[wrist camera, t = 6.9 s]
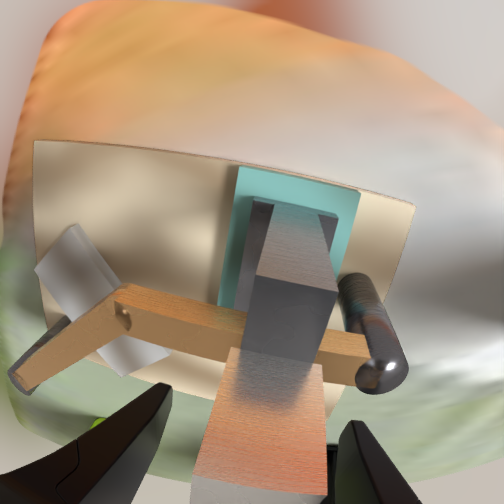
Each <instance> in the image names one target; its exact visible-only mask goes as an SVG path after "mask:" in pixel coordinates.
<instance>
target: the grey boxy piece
mask: <svg viewBox="0 0 504 504" xmlns="http://www.w3.org/2000/svg"><path fill="white" fill-rule="evenodd" d="M338 220H339V218H338V216H337V214H336V213H332V212H327V211H323V210H319V209H314V208H310V207H305V206H301V205H296V204H292V203H287V202H282V201H278V200H273V199H268V198H263V197H258V196H255V198H254V199H253V203H252V209H251V214H250V220H249V225H248V230H247V236H246V241H245V247H244V252H243V258H242V263H241V269H240V274H239V280H238V286H237V291H236V297H235V302H234V308H233V309H235V310H239V311H244V312H248V314H247V319H246V324H245V328H244V333H243V338H242V343H241V348H240V349H238V348H234V347H231V349H230V352H229V355H228V359H227V362H226V365H225V369H224V372H223V375H222V378H221V382H220V385H219V388H218V392H217V395H216V398H215V402H214V405H213V408H212V411H211V415H210V418H209V421H208V424H207V428H206V431H205V434H204V438H203V441H202V444H201V447H200V451H199V454H198V457H197V460H196V464H195V467H194V470H193V473H192V482H191V495H190V504H319V503H320V502H321V501H322V500H323V499H324V498H325V497H326V496H327V451H326V425H325V405H324V389H323V374H322V365H320V364H314V363H313V362H314V360H315V357H316V354H317V352H318V349H319V347H320V344H321V341H322V338H323V336H324V333H325V330H326V328H327V325H328V322H329V319H330V316H331V313H332V311H333V308H334V305H335V302H336V299H337V296H338V293H339V291H338V287H337V283H336V279H335V275H334V271H333V267H332V263H331V260H330V256H329V253H330V250H331V246H332V242H333V239H334V235H335V231H336V228H337V224H338Z"/></svg>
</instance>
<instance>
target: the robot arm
mask: <svg viewBox="0 0 504 504" xmlns="http://www.w3.org/2000/svg"><path fill="white" fill-rule="evenodd" d="M172 392H173V388H172V386H171V385H169V384H166V383H162V382H159V383H157V384H155V385H154V386H153V387H151V388H150V389H148V390H147V391H145V392H144V393H143V394H141V395H140V396H138V397H137V398H136V399H134V400H133V401H131V402H130V403H128V404H127V405H125V406H124V407H123V408H121V409H120V410H118V411H117V412H115V413H114V414H112V415H111V416H109V417H108V418H106V419H105V420H104V421H102V422H101V423H99V424H98V425H96V426H95V427H93V428H92V429H90V430H89V431H87V432H86V433H84V434H83V435H81V436H79V437H78V438H77V440H76V439H75V440H73V441H72V442H70V443H68V444H67V445H65V446H64V447H62V448H60V449H59V450H57V451H55V452H54V453H51V454H50V455H47V456H45V457H43V458H41V459H39V460H37V461H35V462H32V463H30V464H28V465H26V466H23V467H21V468H18V469H16V470H13V471H11V472H9V473H5V474H1V475H0V504H131V502H132V500H133V498H134V496H135V494H136V492H137V490H138V488H139V486H140V484H141V482H142V480H143V478H144V476H145V474H146V472H147V470H148V468H149V466H150V464H151V462H152V460H153V458H154V456H155V453H156V451H157V449H158V446H159V444H160V441H161V438H162V435H163V431H164V428H165V425H166V422H167V419H168V416H169V413H170V410H171V407H172ZM326 451H327V496H326V497H325V498H324V499H323V500H322V501H321V502H320V503H319V504H422V503H421V501H420V500H418V497H417V496H416V494H415V493H414V492H413V490H412V489H411V487H410V486H409V485H408V483H407V482H406V480H405V479H404V478H403V476H402V475H401V473H400V472H399V471H398V469H397V468H396V466H395V465H394V464H393V462H392V461H391V459H390V458H389V457H388V455H387V454H386V452H385V451H384V450H383V448H382V447H381V445H380V444H379V443H378V441H377V440H376V438H375V437H374V436H373V434H372V433H371V431H370V430H369V429H368V427H367V426H366V424H365V423H364V422H363V421H358V420H351V421H349V422H348V424H347V426H346V427H345V429H344V430H343V432H342V433H341V435H340V438H339V444H338V447H327V446H326Z"/></svg>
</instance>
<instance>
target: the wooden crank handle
mask: <svg viewBox="0 0 504 504" xmlns="http://www.w3.org/2000/svg"><path fill="white" fill-rule="evenodd" d="M337 287H338V291H339V293H338V296H337V297H338V302H339V306H340V311H341V315H342V320H343V325H344V329H345V332H344V331H338V330H333V329H327V328H326V330H325V333H324V336H323V338H322V341H321V344H320V347H319V349H318V352H317V354H316V357H315V360H314V362H313V363H314V364H320V365H322V374H323V382H326V383H333V384H340V385H348V386H356V387H357V388H358V389H359V390H360V391H362V392H364V393H366V394H371V395H377V394H383V393H386V392H389V391H391V390H393V389H395V388H396V387H398V386H399V385H400V384H401V383H402V382H403V381H404V380H405V378H406V376H407V374H408V370H409V367H408V363H407V360H406V358H405V355H404V353H403V350H402V348H401V345H400V343H399V341H398V338H397V336H396V333H395V331H394V329H393V326H392V324H391V322H390V319H389V317H388V315H387V313H386V310H385V308H384V306H383V304H382V301H381V299H380V297H379V295H378V293H377V291H376V288H375V286H374V284H373V282H372V280H371V279H370V277H368V276H367V275H366V274H363V273H359V272H356V273H351V274H348V275H346V276H345V277H343V278H342V279H341V280H340V282H339V284H338V286H337ZM247 314H248V312H244V311H239V310H235V309H231V308H226V307H222V306H218V305H213V304H209V303H205V302H201V301H197V300H193V299H189V298H185V297H181V296H177V295H173V294H169V293H165V292H161V291H158V290H154V289H150V288H146V287H143V286H139V285H135V284H132V283H123V284H121V285H120V286H119V287H117V288H116V289H115V290H113V291H112V292H111V293H109V294H108V295H107V296H105V297H104V298H103V299H101V300H100V301H99V302H97V303H96V304H95V305H94V306H92V307H91V308H90V309H88V310H87V311H86V312H85V313H83V314H82V315H81V316H79V317H78V318H77V319H76V320H74V321H73V322H72V321H71V320H70V319H69V318H68V316H67V315H65V316H63V317H62V318H61V319H60V320H59V321H58V322H57V323H56V324H55V325H53V326H52V327H51V328H50V329H49V330H48V331H47V332H46V333H45V334H44V335H43V336H42V337H41V338H40V339H39V340H38V341H37V342H36V343H35V344H34V345H33V346H32V347H31V348H30V349H29V350H28V351H27V352H26V353H24V354H23V355H22V356H21V357H20V358H19V360H18V361H17V362H16V363H15V364H14V365H13V366H12V367H11V368H10V369H9V370H8V376H9V378H10V380H11V382H12V383H13V384H14V386H15V387H16V388H17V389H18V390H19V391H21V392H22V393H23V394H25V395H28V396H30V395H31V394H32V393H33V392H34V390H35V389H36V388H37V387H38V386H39V385H40V383H42V382H43V381H45V380H47V379H48V378H50V377H52V376H54V375H55V374H57V373H59V372H60V371H62V370H64V369H65V368H67V367H69V366H70V365H72V364H74V363H76V362H77V361H79V360H81V359H82V358H84V357H86V356H87V355H89V354H91V353H92V352H94V351H96V350H97V349H99V348H101V347H102V346H104V345H106V344H108V343H109V342H111V341H113V340H114V339H116V338H118V337H119V336H121V335H123V334H124V335H127V336H130V337H133V338H136V339H139V340H143V341H146V342H149V343H152V344H156V345H159V346H162V347H166V348H169V349H173V350H176V351H180V352H184V353H187V354H191V355H195V356H199V357H202V358H206V359H210V360H214V361H218V362H223V363H226V362H227V359H228V355H229V352H230V349H231V347H234V348H238V349H240V348H241V343H242V338H243V333H244V328H245V324H246V319H247Z"/></svg>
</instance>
